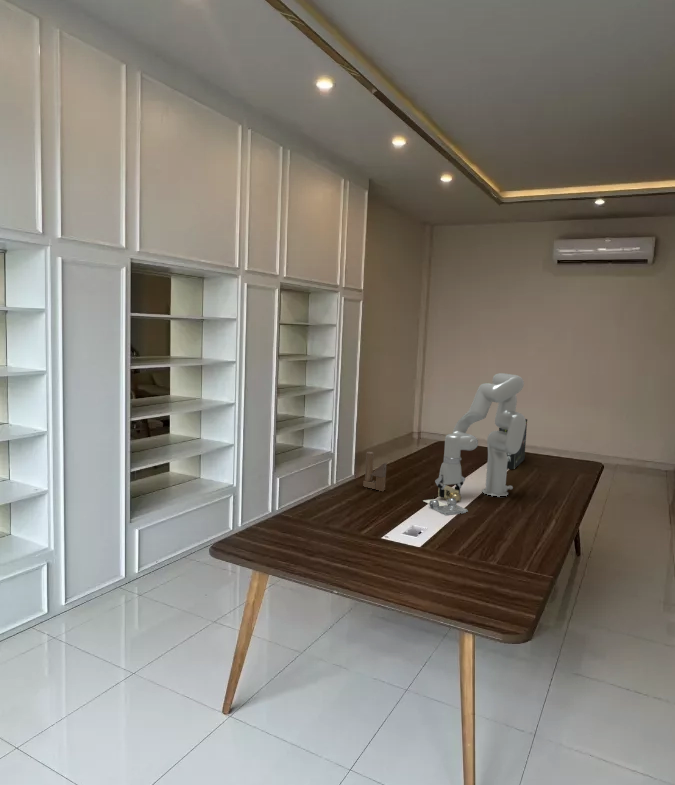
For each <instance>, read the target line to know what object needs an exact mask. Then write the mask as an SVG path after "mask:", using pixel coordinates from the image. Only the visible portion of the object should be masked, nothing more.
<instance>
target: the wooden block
mask: <svg viewBox="0 0 675 785" xmlns="http://www.w3.org/2000/svg"><path fill="white" fill-rule="evenodd" d="M374 453H375V452H373V451H366V456H365V473H364V480H363V482H362V484H363V485H362V487H363V486H364V487H368V488H372V489H376V490H379V491H378V492H380V491H382V492H384V490H386V477H387V476H386V475H387V464H388V463H387V462H384V463H381V464H380V465H379V467H377V468H376V469H375V470H374V455H375V454H374ZM373 470H374V471H373ZM373 477H375V480H373ZM372 489H371V490H372ZM376 490H375V491H376Z"/></svg>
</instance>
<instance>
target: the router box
mask: <svg viewBox="0 0 675 785" xmlns="http://www.w3.org/2000/svg"><path fill="white" fill-rule="evenodd" d="M525 420H526V427H525V431H524V436H523V440H522V444H521V447H520V449H519V451H518V452H517V453H515V454H508V453H507V458H508V463H507V470H511V469H515V468H516V467H517V466H520V464H522V462H524V460H525V458H526V457H525V456H526V444H527V443H526V442H527V441H526V440H527V430H528V429H527V426H528V418H525ZM498 431H502V432H506V433H507V432H508V430H506V429H502V428H499V427H498ZM515 470H516V469H515Z"/></svg>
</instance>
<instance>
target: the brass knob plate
mask: <svg viewBox="0 0 675 785" xmlns="http://www.w3.org/2000/svg"><path fill="white" fill-rule="evenodd" d="M444 490H445V494H444V498H442V497H440V496H439V489H438V491H437V492H438V494H437V496H438V497H439V498H441V499H443V500H446V501H447V499H449V498H455V499H456V503H457V502H461V500H462V495H461V493H460V494H459V490H456V489H455V487H452V486H450V485H446V486H445V488H444Z"/></svg>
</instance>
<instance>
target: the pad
mask: <svg viewBox="0 0 675 785" xmlns="http://www.w3.org/2000/svg"><path fill="white" fill-rule="evenodd" d="M431 500H437V499H436V498H435V499H434V498H432V499H424V500H422V501H423V502H425V503H427V504H428V505H429V504H430V501H431ZM438 502H439V507H441V506H448V505H447V503H444V502H442V501H440V500H438Z"/></svg>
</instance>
